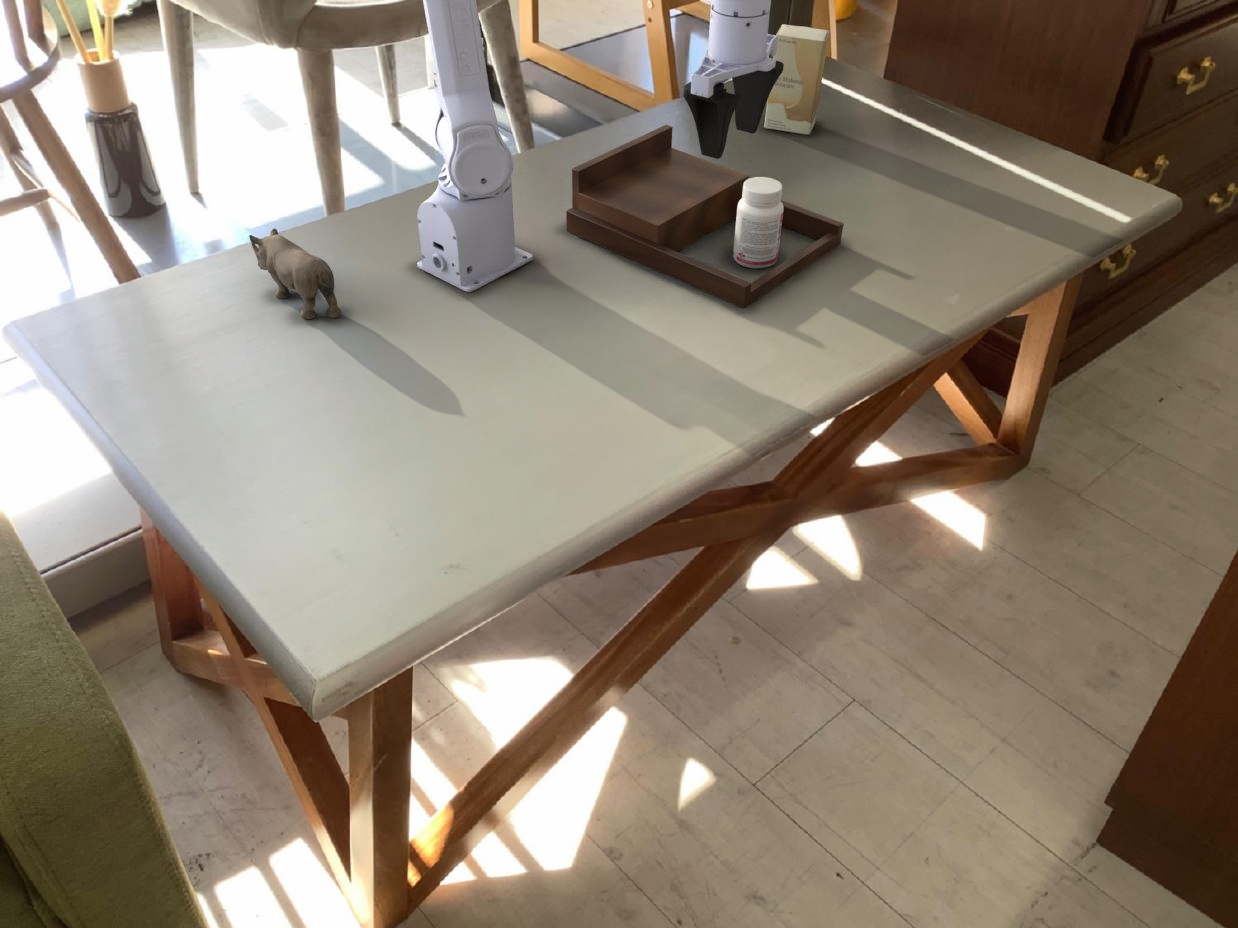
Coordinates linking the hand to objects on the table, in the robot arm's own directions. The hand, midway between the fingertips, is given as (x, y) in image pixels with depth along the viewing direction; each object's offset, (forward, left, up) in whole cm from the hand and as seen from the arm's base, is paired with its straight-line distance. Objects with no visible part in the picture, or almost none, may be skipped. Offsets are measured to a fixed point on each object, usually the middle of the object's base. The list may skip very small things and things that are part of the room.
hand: (729, 143), depth 115 cm
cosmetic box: (+30, +11, -10) cm, 33 cm away
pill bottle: (-2, -6, -10) cm, 12 cm away
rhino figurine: (-39, +24, -10) cm, 47 cm away
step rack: (-2, +1, -10) cm, 11 cm away
